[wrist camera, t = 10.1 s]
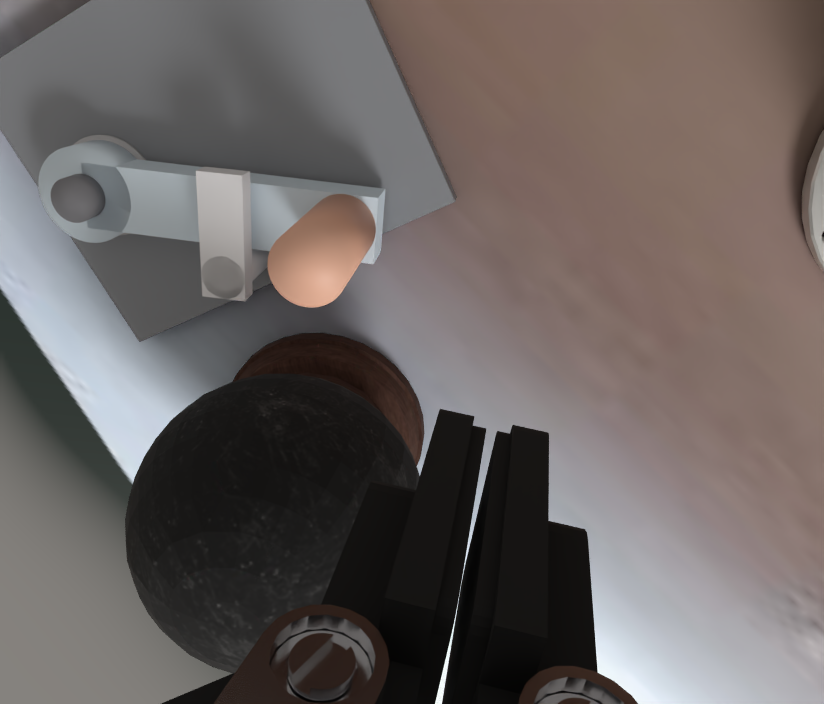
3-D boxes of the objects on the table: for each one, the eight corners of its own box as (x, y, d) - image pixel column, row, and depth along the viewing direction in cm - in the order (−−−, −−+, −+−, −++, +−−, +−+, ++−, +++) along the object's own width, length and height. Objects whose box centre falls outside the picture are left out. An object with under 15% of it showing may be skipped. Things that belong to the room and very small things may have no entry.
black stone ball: (458, 512, 41) (433, 752, 27) (246, 526, 43) (126, 752, 29) (421, 301, 35) (367, 466, 22) (183, 329, 38) (2, 494, 24)
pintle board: (148, 334, 38) (102, 373, 34) (-19, 77, 34) (-97, 84, 29) (456, 197, 33) (448, 221, 29) (311, -131, 28) (275, -161, 24)
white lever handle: (69, 226, 35) (-46, 276, 28) (58, 134, 33) (-69, 163, 26) (379, 265, 34) (344, 329, 26) (386, 173, 32) (350, 214, 24)
